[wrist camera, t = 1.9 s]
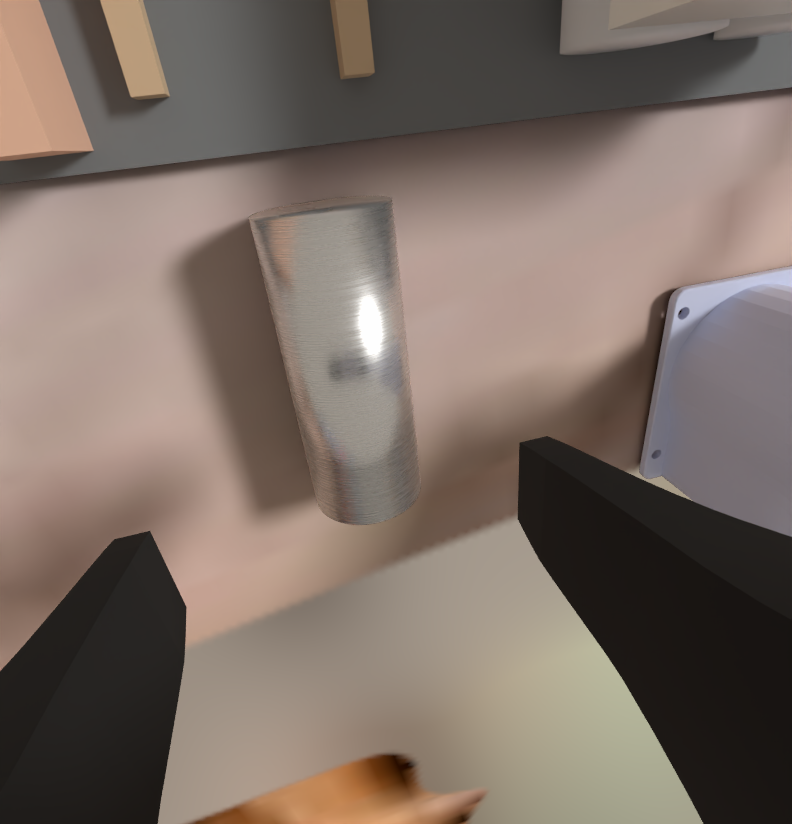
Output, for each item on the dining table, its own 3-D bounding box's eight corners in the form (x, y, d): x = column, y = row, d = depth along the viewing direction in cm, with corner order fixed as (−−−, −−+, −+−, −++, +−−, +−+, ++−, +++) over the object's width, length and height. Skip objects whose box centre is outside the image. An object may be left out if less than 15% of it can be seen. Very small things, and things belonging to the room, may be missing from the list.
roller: (371, 446, 21) (442, 481, 18) (295, 494, 19) (364, 542, 16) (332, 195, 16) (422, 195, 13) (222, 218, 14) (304, 223, 11)
